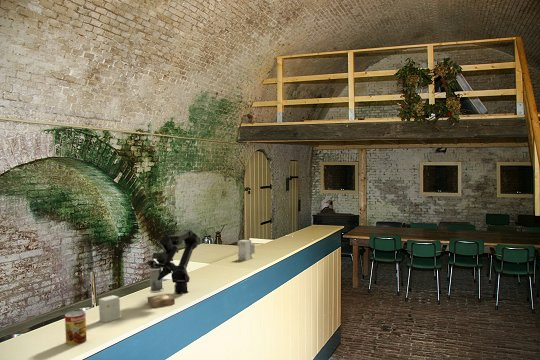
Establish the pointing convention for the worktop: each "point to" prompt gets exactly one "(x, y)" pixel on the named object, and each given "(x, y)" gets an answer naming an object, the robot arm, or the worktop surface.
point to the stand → (161, 300)
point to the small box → (109, 308)
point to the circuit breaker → (245, 250)
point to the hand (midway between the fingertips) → (154, 279)
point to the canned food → (75, 327)
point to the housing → (155, 280)
